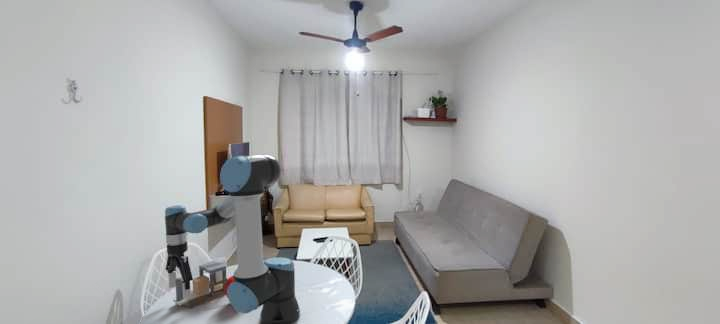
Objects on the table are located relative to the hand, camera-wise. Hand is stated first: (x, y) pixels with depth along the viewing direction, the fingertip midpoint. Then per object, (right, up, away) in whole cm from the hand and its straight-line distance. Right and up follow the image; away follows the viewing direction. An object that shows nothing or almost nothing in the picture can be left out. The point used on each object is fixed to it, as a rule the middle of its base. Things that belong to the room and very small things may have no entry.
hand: (179, 291), depth 134 cm
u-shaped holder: (+3, -4, +5) cm, 7 cm away
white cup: (+5, -5, +26) cm, 27 cm away
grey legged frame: (+8, -5, +10) cm, 14 cm away
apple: (+24, -6, +3) cm, 25 cm away
